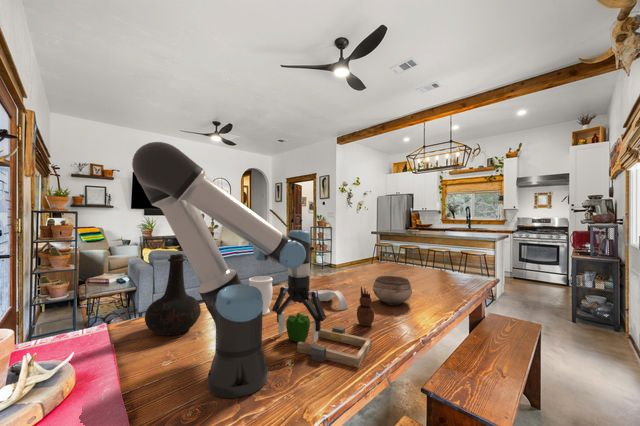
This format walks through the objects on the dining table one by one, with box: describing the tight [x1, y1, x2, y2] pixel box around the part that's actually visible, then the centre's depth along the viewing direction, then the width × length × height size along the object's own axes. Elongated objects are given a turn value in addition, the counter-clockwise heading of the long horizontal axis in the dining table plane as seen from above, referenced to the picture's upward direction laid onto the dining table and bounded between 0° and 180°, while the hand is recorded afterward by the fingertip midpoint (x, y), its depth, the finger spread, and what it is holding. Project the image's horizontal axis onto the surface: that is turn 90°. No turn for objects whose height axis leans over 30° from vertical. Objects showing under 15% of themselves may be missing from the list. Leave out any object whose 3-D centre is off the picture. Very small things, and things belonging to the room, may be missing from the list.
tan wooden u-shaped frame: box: [296, 325, 373, 369], centre depth 89 cm, size 18×20×4 cm
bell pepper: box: [285, 311, 311, 343], centre depth 95 cm, size 8×8×10 cm
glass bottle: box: [144, 253, 202, 336], centre depth 101 cm, size 18×18×28 cm
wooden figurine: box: [356, 286, 375, 327], centre depth 109 cm, size 7×6×15 cm
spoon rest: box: [317, 289, 348, 311], centre depth 136 cm, size 24×12×7 cm, turn 32°
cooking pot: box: [372, 274, 413, 306], centre depth 137 cm, size 25×19×12 cm
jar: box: [248, 275, 274, 316], centre depth 121 cm, size 11×10×15 cm
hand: (297, 336), depth 95 cm, fingers open, 13 cm apart
